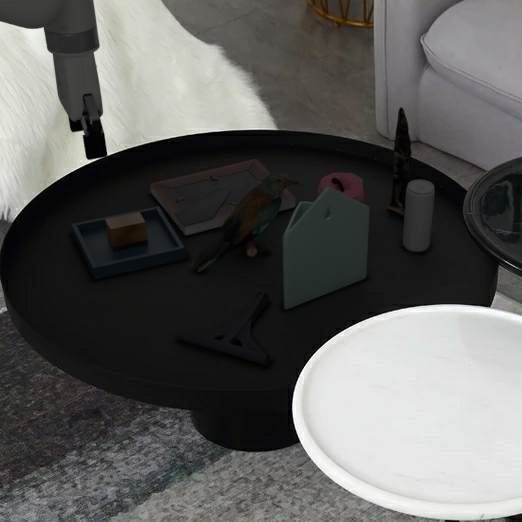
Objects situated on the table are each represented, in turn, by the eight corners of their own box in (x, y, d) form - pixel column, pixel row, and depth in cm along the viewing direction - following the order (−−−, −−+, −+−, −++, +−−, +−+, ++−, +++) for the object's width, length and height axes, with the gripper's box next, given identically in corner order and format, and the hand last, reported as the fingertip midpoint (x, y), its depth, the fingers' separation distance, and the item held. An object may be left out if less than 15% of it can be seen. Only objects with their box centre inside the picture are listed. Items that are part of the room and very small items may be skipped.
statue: (412, 226, 181) (420, 124, 168) (382, 212, 184) (388, 111, 171) (426, 218, 183) (435, 117, 170) (396, 203, 187) (403, 103, 174)
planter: (340, 256, 172) (342, 152, 160) (367, 278, 168) (372, 173, 155) (259, 286, 165) (255, 180, 152) (285, 310, 160) (283, 203, 147)
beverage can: (420, 256, 173) (426, 196, 166) (397, 247, 175) (401, 187, 167) (434, 244, 177) (440, 184, 169) (411, 235, 178) (415, 176, 171)
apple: (363, 238, 177) (365, 189, 170) (314, 235, 177) (315, 186, 170) (365, 210, 184) (368, 162, 178) (319, 207, 184) (319, 159, 178)
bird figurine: (209, 285, 163) (257, 173, 157) (177, 259, 168) (223, 149, 163) (268, 296, 173) (315, 191, 167) (236, 271, 179) (281, 168, 173)
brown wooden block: (113, 252, 169) (110, 229, 166) (108, 241, 171) (104, 218, 168) (148, 244, 171) (145, 221, 168) (142, 234, 173) (139, 211, 170)
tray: (94, 279, 164) (92, 268, 162) (73, 235, 173) (70, 223, 172) (186, 259, 170) (185, 247, 168) (160, 217, 179) (158, 205, 178)
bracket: (305, 313, 160) (305, 299, 158) (264, 367, 149) (263, 352, 147) (225, 291, 163) (224, 277, 161) (179, 342, 153) (177, 328, 151)
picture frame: (185, 237, 175) (295, 209, 183) (184, 225, 173) (295, 197, 182) (151, 194, 185) (256, 169, 194) (149, 182, 183) (256, 157, 192)
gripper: (32, 19, 150) (51, 124, 161) (60, 63, 139) (78, 173, 150) (82, 12, 153) (98, 116, 164) (113, 56, 141) (127, 164, 152)
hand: (88, 143), depth 157 cm, fingers open, 9 cm apart
